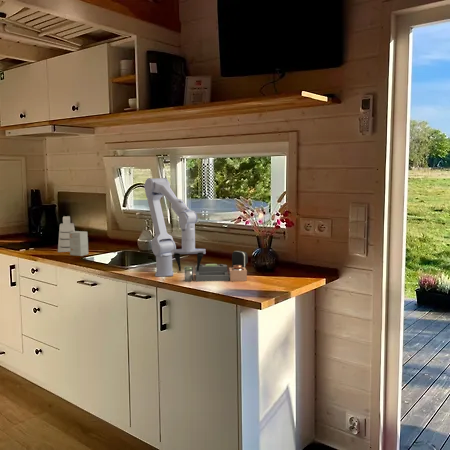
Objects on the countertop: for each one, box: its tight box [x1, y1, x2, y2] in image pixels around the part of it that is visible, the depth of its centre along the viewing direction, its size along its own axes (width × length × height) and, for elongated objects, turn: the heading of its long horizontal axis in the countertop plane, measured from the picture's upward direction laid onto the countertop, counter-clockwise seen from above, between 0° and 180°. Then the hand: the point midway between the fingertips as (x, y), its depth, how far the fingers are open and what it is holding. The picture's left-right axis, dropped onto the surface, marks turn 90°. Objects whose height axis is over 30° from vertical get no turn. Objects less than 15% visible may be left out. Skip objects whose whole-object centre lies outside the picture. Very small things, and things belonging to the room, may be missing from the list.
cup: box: [228, 267, 248, 282], centre depth 212 cm, size 7×7×5 cm
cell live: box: [183, 265, 194, 283], centre depth 212 cm, size 4×4×6 cm
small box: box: [69, 230, 89, 257], centre depth 276 cm, size 8×6×13 cm
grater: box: [57, 215, 76, 253], centre depth 291 cm, size 10×10×20 cm
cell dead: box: [233, 265, 242, 270], centre depth 211 cm, size 4×4×6 cm
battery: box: [231, 250, 249, 269], centre depth 219 cm, size 7×4×11 cm, turn 47°
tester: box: [194, 263, 230, 282], centre depth 214 cm, size 13×14×6 cm
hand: (188, 270), depth 212 cm, fingers open, 7 cm apart
